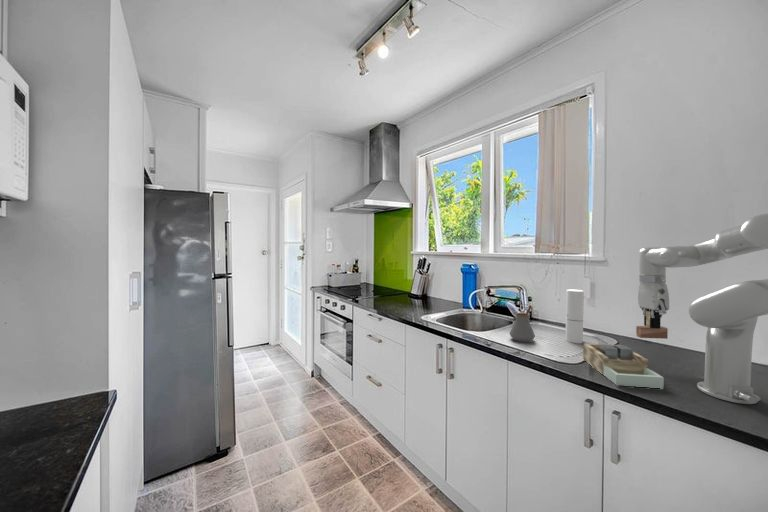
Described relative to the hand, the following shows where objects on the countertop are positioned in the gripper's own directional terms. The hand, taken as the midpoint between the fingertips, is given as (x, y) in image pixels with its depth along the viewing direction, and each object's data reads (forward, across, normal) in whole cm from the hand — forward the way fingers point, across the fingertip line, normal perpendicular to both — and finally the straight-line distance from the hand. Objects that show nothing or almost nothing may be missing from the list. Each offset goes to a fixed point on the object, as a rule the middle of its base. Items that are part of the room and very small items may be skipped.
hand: (652, 326), depth 114 cm
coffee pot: (+15, +31, +37) cm, 51 cm away
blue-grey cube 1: (+11, -5, +13) cm, 18 cm away
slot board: (+16, -4, +15) cm, 22 cm away
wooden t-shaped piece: (+4, 0, 0) cm, 4 cm away
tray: (+16, -15, +15) cm, 27 cm away
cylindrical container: (+15, +29, +15) cm, 36 cm away
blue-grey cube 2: (+11, -5, +18) cm, 22 cm away
